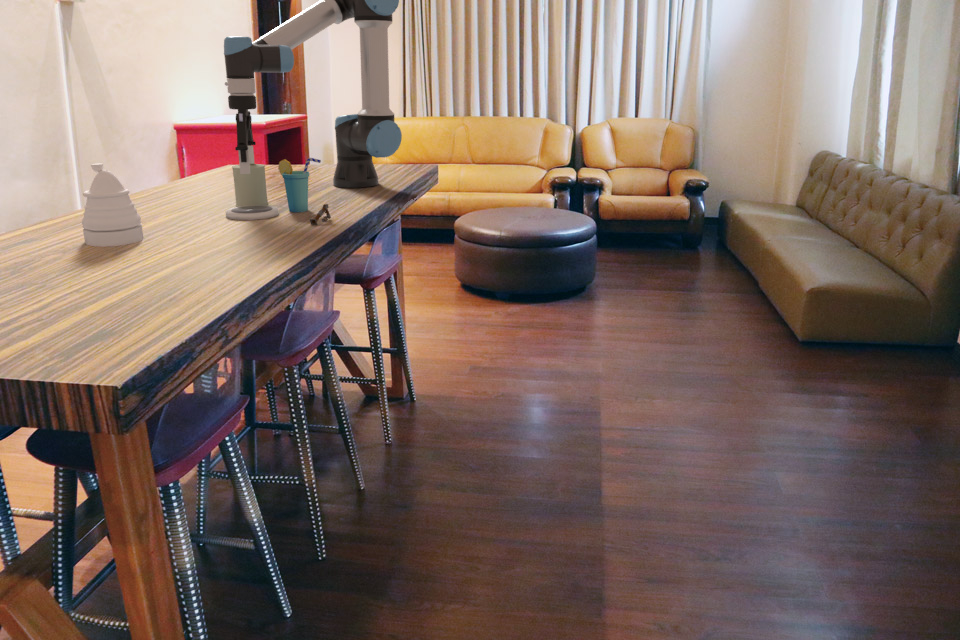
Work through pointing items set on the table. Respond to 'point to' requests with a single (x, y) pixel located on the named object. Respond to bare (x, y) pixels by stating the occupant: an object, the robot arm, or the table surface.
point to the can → (250, 186)
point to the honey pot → (109, 212)
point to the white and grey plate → (252, 212)
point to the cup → (296, 185)
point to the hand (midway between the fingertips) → (247, 171)
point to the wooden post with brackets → (320, 213)
